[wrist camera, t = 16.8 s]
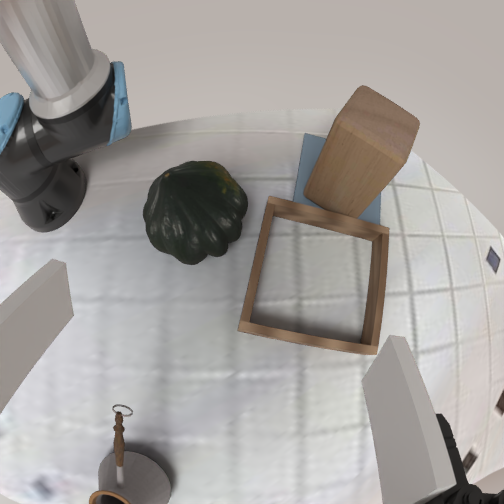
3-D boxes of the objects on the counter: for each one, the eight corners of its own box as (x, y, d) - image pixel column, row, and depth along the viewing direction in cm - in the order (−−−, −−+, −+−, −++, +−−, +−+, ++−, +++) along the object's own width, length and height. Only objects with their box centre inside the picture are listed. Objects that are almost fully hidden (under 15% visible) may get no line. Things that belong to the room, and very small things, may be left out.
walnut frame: (237, 330, 44) (238, 329, 40) (265, 207, 50) (268, 195, 46) (365, 354, 44) (376, 354, 40) (378, 236, 50) (389, 227, 46)
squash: (278, 239, 43) (237, 141, 34) (187, 300, 40) (124, 208, 31) (235, 210, 54) (199, 135, 45) (163, 256, 51) (117, 184, 42)
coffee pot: (169, 513, 33) (150, 563, 19) (102, 490, 33) (64, 528, 19) (191, 401, 40) (173, 425, 26) (118, 379, 40) (72, 389, 25)
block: (324, 159, 54) (361, 80, 35) (370, 188, 53) (423, 119, 34) (299, 196, 51) (335, 116, 32) (349, 228, 50) (408, 163, 31)
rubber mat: (292, 204, 51) (293, 202, 50) (304, 135, 56) (305, 133, 55) (378, 227, 51) (379, 225, 50) (379, 157, 56) (380, 155, 55)
